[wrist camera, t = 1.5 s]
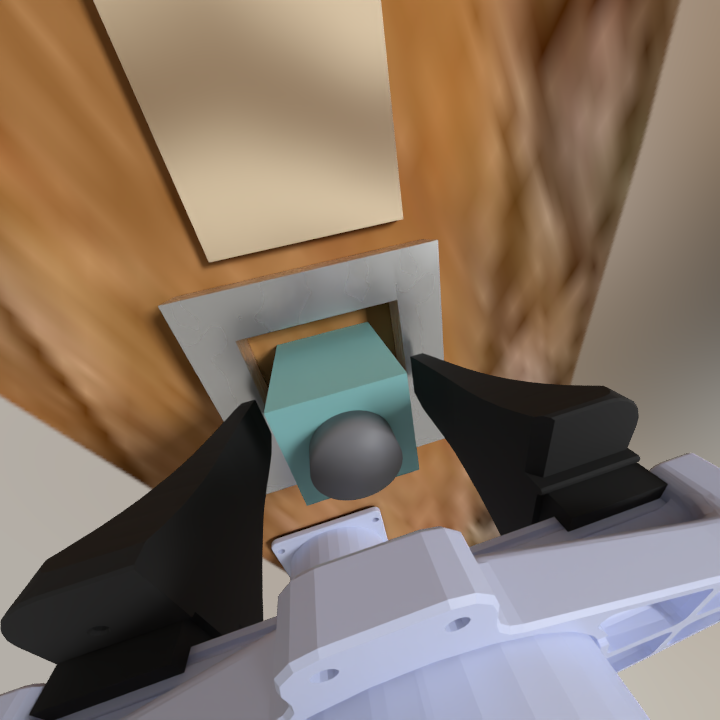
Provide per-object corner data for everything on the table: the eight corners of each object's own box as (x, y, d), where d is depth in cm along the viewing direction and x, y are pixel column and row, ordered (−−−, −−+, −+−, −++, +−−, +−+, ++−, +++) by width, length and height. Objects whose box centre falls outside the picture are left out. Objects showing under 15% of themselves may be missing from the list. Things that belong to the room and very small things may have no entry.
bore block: (436, 421, 17) (447, 437, 16) (268, 472, 16) (265, 494, 15) (422, 239, 12) (437, 239, 11) (174, 297, 11) (158, 305, 10)
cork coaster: (399, 219, 11) (403, 218, 11) (212, 261, 11) (208, 262, 10) (366, -85, 8) (370, -104, 7) (75, -54, 7) (61, -73, 7)
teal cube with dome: (381, 394, 15) (430, 491, 10) (304, 416, 15) (307, 531, 9) (367, 321, 13) (419, 389, 8) (277, 345, 13) (259, 436, 7)
